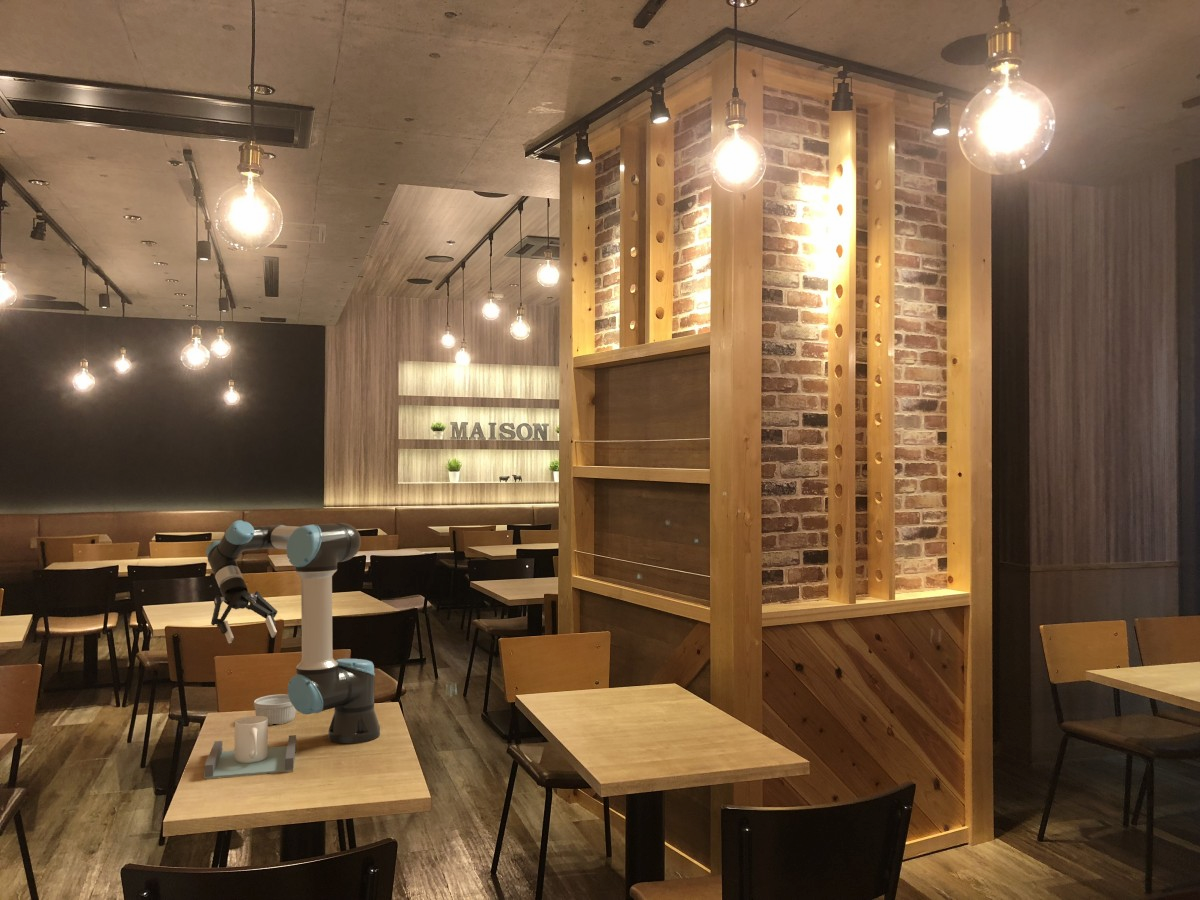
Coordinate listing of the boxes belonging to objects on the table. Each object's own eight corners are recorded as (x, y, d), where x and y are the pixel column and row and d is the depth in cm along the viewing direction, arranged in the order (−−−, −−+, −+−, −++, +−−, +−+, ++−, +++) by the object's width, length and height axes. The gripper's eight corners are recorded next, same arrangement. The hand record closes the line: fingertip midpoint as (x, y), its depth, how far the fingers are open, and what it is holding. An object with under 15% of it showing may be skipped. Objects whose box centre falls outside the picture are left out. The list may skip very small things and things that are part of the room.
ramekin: (253, 728, 289) (254, 706, 290) (253, 717, 302) (253, 696, 302) (298, 724, 294) (298, 702, 294) (296, 713, 306) (296, 692, 307)
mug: (238, 769, 249) (238, 729, 249) (232, 756, 259) (233, 718, 259) (271, 764, 253) (271, 724, 253) (265, 752, 263) (265, 714, 263)
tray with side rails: (214, 754, 264) (214, 741, 264) (296, 747, 270) (296, 735, 270) (204, 779, 242) (204, 765, 242) (293, 771, 249) (293, 758, 249)
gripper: (265, 587, 303) (287, 639, 292) (187, 595, 285) (208, 651, 274) (273, 572, 299) (295, 624, 289) (195, 579, 281) (216, 635, 271)
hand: (253, 637), depth 281 cm, fingers open, 13 cm apart
